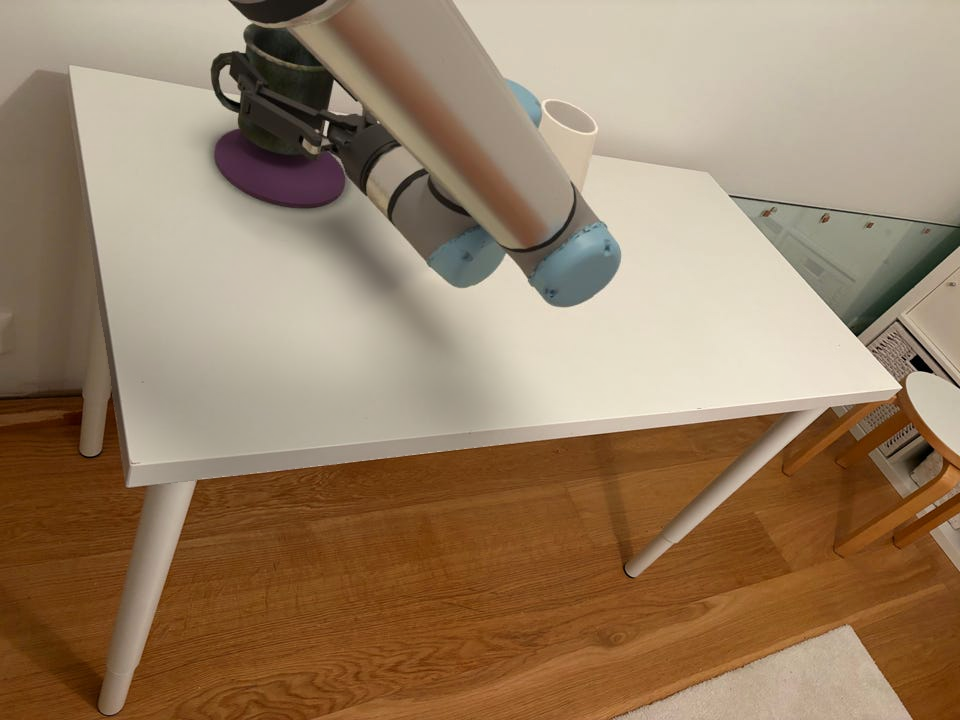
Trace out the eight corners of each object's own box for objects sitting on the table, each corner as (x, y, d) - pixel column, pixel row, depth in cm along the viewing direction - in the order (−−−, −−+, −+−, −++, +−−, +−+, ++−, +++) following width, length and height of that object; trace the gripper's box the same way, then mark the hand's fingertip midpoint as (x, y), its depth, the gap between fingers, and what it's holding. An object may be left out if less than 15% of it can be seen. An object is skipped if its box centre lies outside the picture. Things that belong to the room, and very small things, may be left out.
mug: (336, 160, 92) (355, 72, 84) (217, 157, 84) (226, 60, 76) (309, 112, 97) (325, 25, 89) (196, 105, 90) (202, 10, 82)
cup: (527, 165, 116) (565, 86, 107) (585, 216, 112) (630, 139, 103) (471, 176, 107) (507, 91, 98) (532, 232, 103) (576, 149, 94)
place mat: (185, 145, 87) (185, 141, 86) (282, 120, 98) (283, 116, 98) (280, 222, 84) (281, 218, 83) (368, 187, 95) (370, 183, 95)
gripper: (285, 218, 71) (180, 95, 79) (461, 187, 87) (360, 87, 95) (300, 153, 66) (187, 28, 74) (484, 133, 82) (376, 33, 90)
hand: (284, 61), depth 84 cm, fingers closed on mug, 12 cm apart
